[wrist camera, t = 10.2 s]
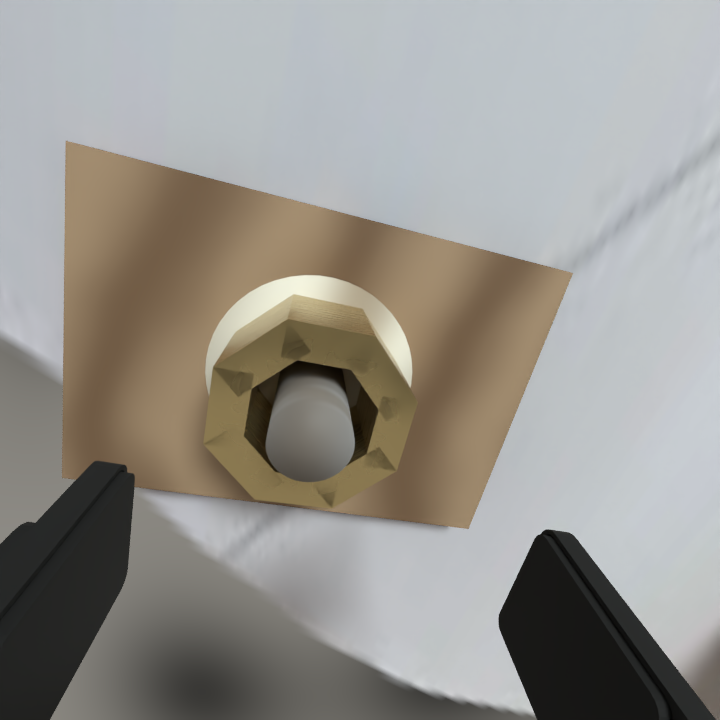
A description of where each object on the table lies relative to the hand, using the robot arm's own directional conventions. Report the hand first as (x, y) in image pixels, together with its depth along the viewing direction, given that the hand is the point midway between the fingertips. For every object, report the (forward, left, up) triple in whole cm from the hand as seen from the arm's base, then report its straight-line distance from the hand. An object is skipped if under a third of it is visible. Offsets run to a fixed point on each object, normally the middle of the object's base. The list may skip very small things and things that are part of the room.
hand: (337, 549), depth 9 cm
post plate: (+1, 0, -11) cm, 11 cm away
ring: (+1, 0, -9) cm, 9 cm away
